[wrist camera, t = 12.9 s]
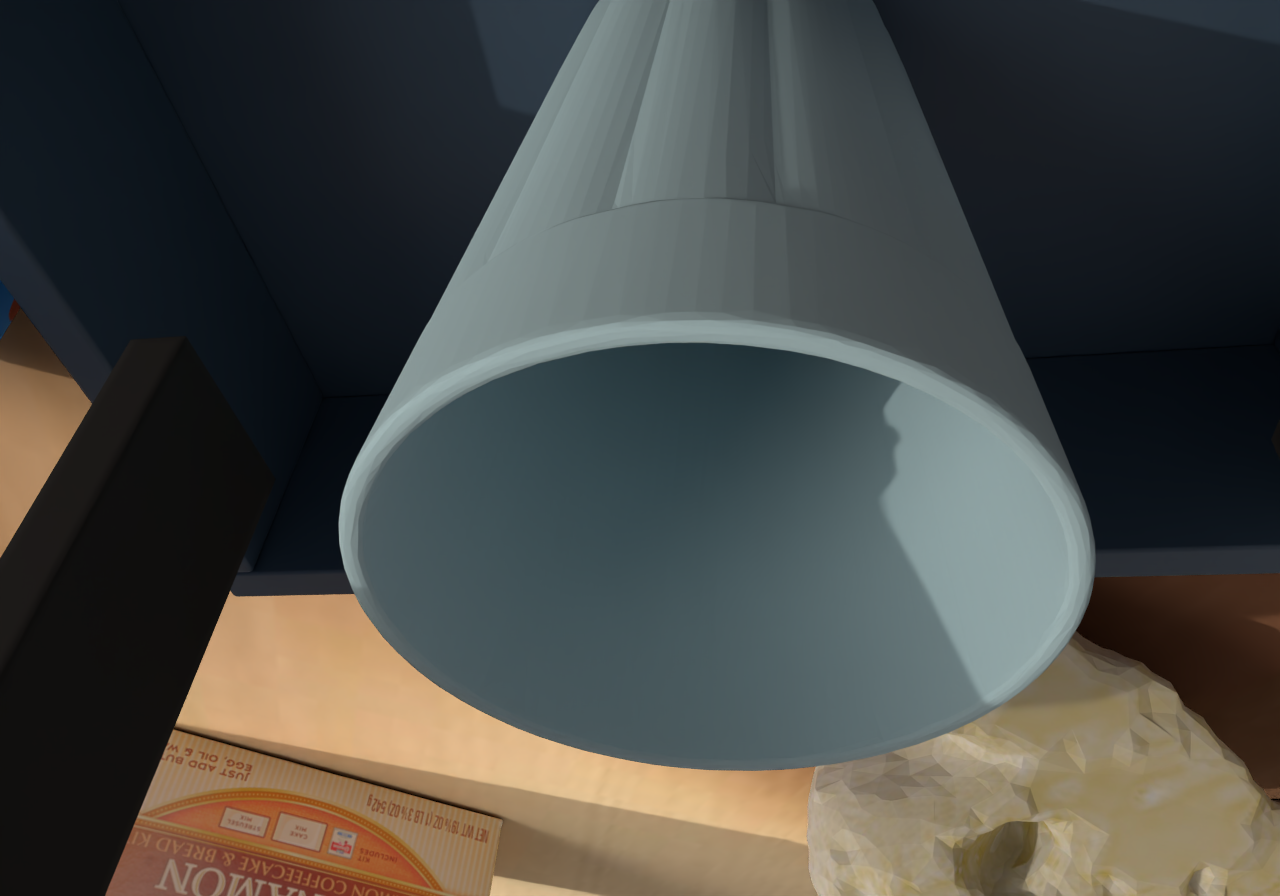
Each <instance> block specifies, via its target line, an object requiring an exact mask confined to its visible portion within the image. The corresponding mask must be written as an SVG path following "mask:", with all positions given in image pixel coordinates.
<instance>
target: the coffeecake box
mask: <svg viewBox="0 0 1280 896" xmlns="http://www.w3.org/2000/svg"><path fill="white" fill-rule="evenodd" d="M502 824H503V821H502V820H501V819H498V818H494V817H490V816H486V815H483V814H479V813H475V812H472V811H468V810H464V809H460V808H457V807H453V806H449V805H446V804H442V803H438V802H435V801H431V800H427V799H424V798H420V797H416V796H413V795H409V794H406V793H402V792H398V791H395V790H391V789H387V788H384V787H380V786H376V785H373V784H369V783H366V782H362V781H358V780H354V779H351V778H347V777H343V776H339V775H335V774H332V773H328V772H324V771H321V770H317V769H314V768H310V767H307V766H303V765H300V764H296V763H293V762H289V761H286V760H282V759H278V758H275V757H271V756H267V755H264V754H260V753H257V752H253V751H249V750H246V749H242V748H238V747H235V746H231V745H228V744H224V743H220V742H217V741H213V740H210V739H206V738H202V737H199V736H195V735H192V734H188V733H184V732H181V731H177V730H174V729H173V731H172V734H171V736H170V738H169V741H168V743H167V746H166V748H165V751H164V753H163V756H162V758H161V760H160V763H159V765H158V768H157V770H156V773H155V775H154V777H153V780H152V782H151V785H150V787H149V790H148V792H147V795H146V797H145V799H144V802H143V804H142V807H141V809H140V812H139V814H138V817H137V819H136V821H135V824H134V826H133V829H132V831H131V834H130V836H129V838H128V841H127V843H126V846H125V848H124V851H123V853H122V856H121V858H120V860H119V863H118V865H117V868H116V870H115V873H114V875H113V878H112V880H111V882H110V885H109V887H108V890H107V892H106V895H105V896H490V890H491V884H492V878H493V873H494V868H495V862H496V857H497V851H498V845H499V839H500V832H501V826H502Z"/></svg>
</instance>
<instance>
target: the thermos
mask: <svg viewBox="0 0 1280 896" xmlns="http://www.w3.org/2000/svg"><path fill="white" fill-rule="evenodd" d="M19 309H20V306H19V304H18V303H17V302H16V300H15V299H14V298H13V296H12V295H11V294H10V292H9V291H8V290H7V288H6V287H5V286H4V284H3V283H2V282H1V280H0V339H1V338H2V336H3V335H4V333H5V331H6V330H7V328H8V327H9V325H10V323H11V322H12V320H13V319H14V317H15V315H16V314H17V312H18V311H19Z"/></svg>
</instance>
